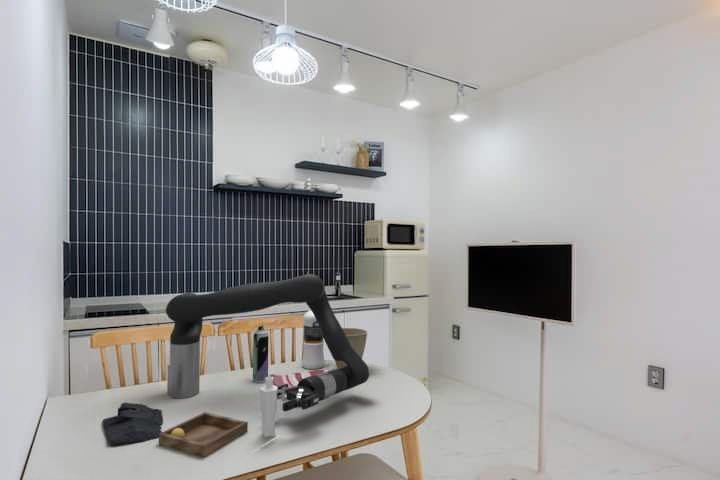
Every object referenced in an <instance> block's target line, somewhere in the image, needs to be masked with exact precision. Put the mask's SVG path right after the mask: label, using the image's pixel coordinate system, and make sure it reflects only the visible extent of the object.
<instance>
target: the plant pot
mask: <svg viewBox="0 0 720 480" xmlns="http://www.w3.org/2000/svg"><path fill="white" fill-rule="evenodd" d="M342 329H343V331H344V333H345V335H346V337H347V339H348V341H349V343H350V345H351V347H352V348H353V349H354V350H355V352H356V353H357V354H358V355H359V356H360V357H361V358H362V359H363V355H364V353H365V350H366V349H365V348H366V344H367V343H366V342H367V337H368V331H367V330H365V329H362V328H356V327H345V328H344V327H342ZM334 361H335V360H334ZM334 363H335V365H336V369H338V370H339V369H341V368H343V367H346V366H348V365H347V364H346V363H345V362H344V361H335V362H334Z"/></svg>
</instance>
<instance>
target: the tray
mask: <svg viewBox="0 0 720 480" xmlns="http://www.w3.org/2000/svg"><path fill="white" fill-rule="evenodd" d="M248 424H249V423H248V421H244V420H239V419H237V418H231V417H227V416H223V415H218V414H214V413H209V412H207V411H205V412H202V413H200V414H197V415H196V416H193V417H192V418H190V419H187V420H185V421H183V422H181V423H179V424H176V425H174V426H172V427H171V428H168V429H166V430H164V431H161V432H162V433H160V434H159V438H158V445H160V446H164V447H165V448H169V449H174V450H176V451H180V452H184V453H187V454H190V455H194V456H197V457H200V458H204V459H205V458H207V457H209V456H210V455H211V454H213V453H215V452H216V451H218V450H220V449H222V448H223V447H225V446H227V445H228V444H230V443H231V442H234V441H235V440H236V439H238V438H240V437H241V436H243V435H244V434H246V433H248V426H249V425H248ZM176 428H181V429H183V431H184V438H181V437H177V436H174V435H171V432H172V431H173V430H174V429H176Z"/></svg>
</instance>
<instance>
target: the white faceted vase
mask: <svg viewBox="0 0 720 480" xmlns="http://www.w3.org/2000/svg"><path fill="white" fill-rule="evenodd" d="M265 379H266V382H265V385H264V386H262V387H261V388H259V391H260V394H259V395H260V409H261V412H260V413H261V423H262V424H261V426H262V431H261V435H262V436H263V437H265V438H267V437H272V439H275V438H276V436H275V435H276V429H275V428H276V417H277V416H276V413H277V403H278V402H277V401H278V400H277V397H278V396H277V389H278V387H277V386H275V385H273V377H270V376H268V377H267V378H265Z"/></svg>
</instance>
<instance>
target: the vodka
mask: <svg viewBox="0 0 720 480" xmlns="http://www.w3.org/2000/svg"><path fill="white" fill-rule="evenodd" d="M324 343H325V341H324V338H323V335H322V333H321V330H320V327H319V325H318V322H317V320H316V318H315V316H314V314H313V312H312V311H311V309H310V308H309V310H307V312H305V313H304V314H303V353H302V355H303V356H302V360H301V366H302V367H303V368H304V369H306V370H320V369H322V368H324V366H325V363H326V362H325V357H324V356H325V355H324Z"/></svg>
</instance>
